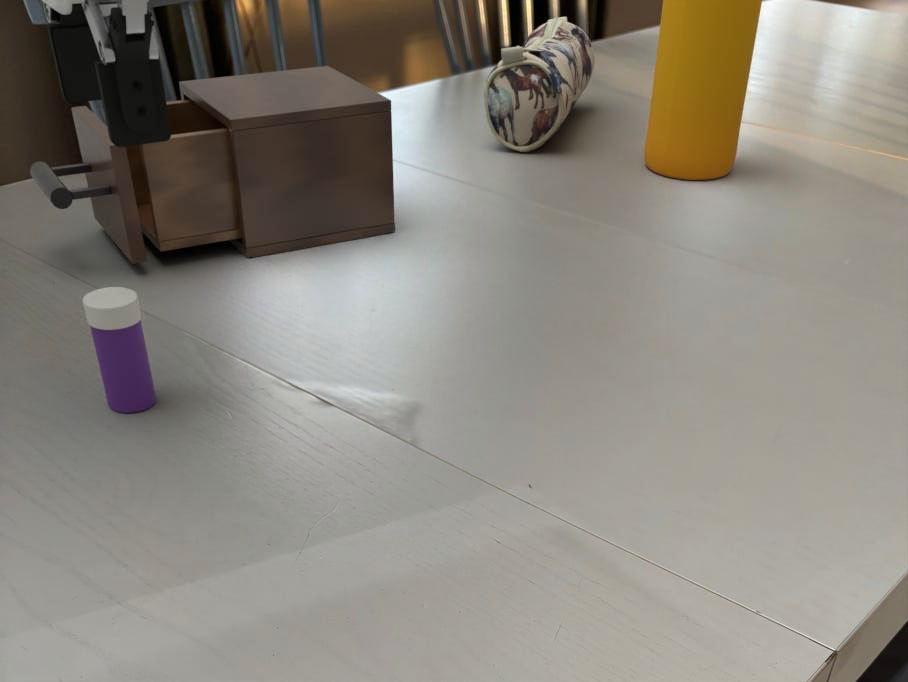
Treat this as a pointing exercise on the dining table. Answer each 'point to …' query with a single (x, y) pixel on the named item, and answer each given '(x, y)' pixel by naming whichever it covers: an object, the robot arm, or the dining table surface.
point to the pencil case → (538, 84)
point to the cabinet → (304, 156)
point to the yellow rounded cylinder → (700, 86)
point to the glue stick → (120, 348)
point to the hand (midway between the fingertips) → (115, 119)
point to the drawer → (154, 182)
